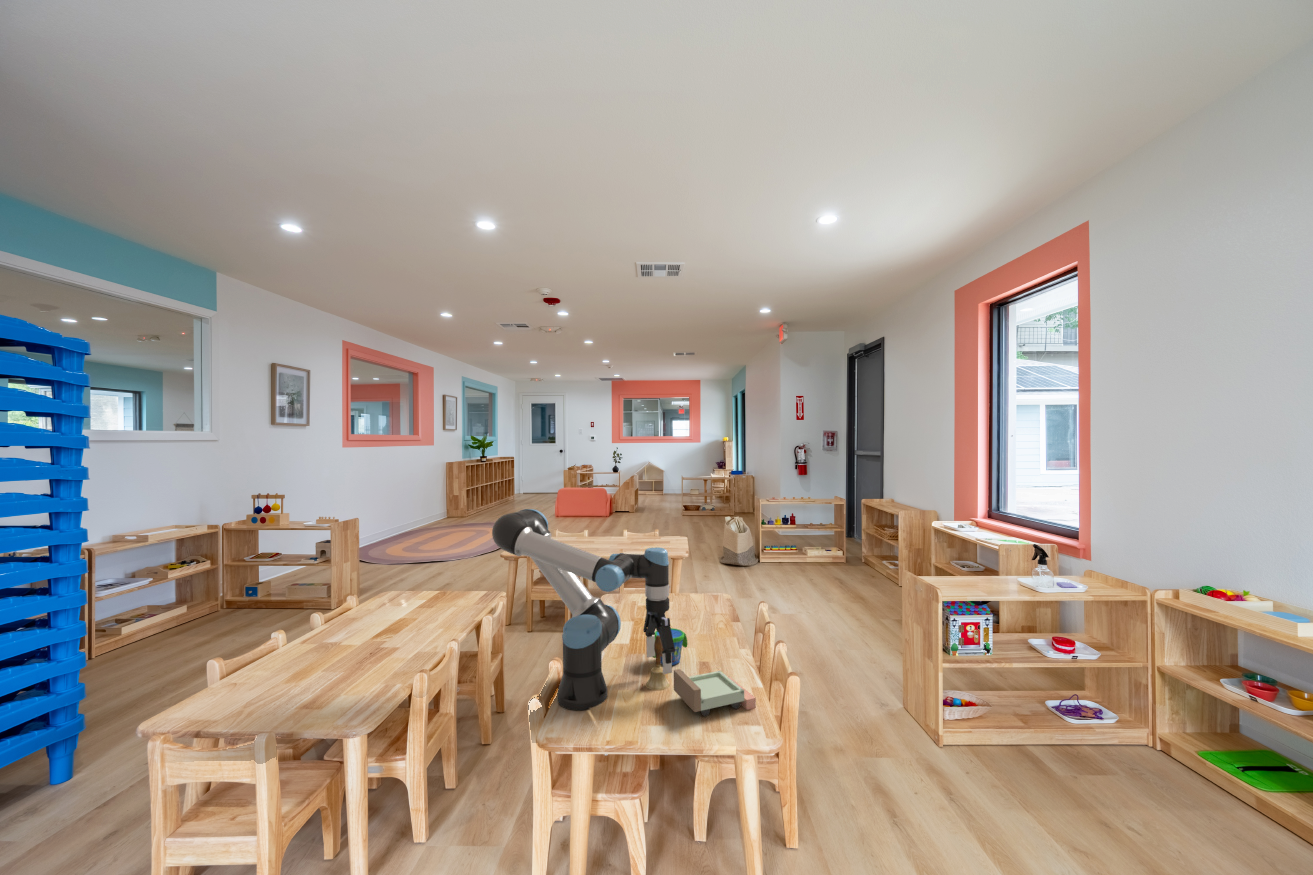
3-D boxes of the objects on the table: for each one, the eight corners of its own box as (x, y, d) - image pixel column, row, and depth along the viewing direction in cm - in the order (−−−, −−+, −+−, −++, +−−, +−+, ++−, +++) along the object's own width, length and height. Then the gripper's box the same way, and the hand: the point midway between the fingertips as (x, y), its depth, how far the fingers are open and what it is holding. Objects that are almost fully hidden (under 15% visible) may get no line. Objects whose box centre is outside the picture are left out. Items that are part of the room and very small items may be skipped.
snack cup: (678, 651, 191) (678, 624, 191) (696, 661, 183) (695, 632, 183) (642, 661, 183) (642, 632, 183) (659, 672, 174) (659, 642, 174)
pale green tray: (694, 720, 143) (694, 690, 143) (673, 697, 156) (673, 669, 156) (744, 709, 149) (744, 679, 149) (720, 687, 162) (720, 660, 162)
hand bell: (656, 677, 170) (655, 629, 170) (676, 685, 165) (675, 635, 165) (639, 687, 164) (639, 636, 164) (659, 695, 159) (659, 643, 159)
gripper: (684, 606, 155) (686, 678, 154) (653, 586, 178) (655, 648, 177) (661, 610, 152) (663, 682, 151) (633, 589, 175) (634, 652, 174)
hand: (658, 664), depth 164 cm, fingers open, 13 cm apart
